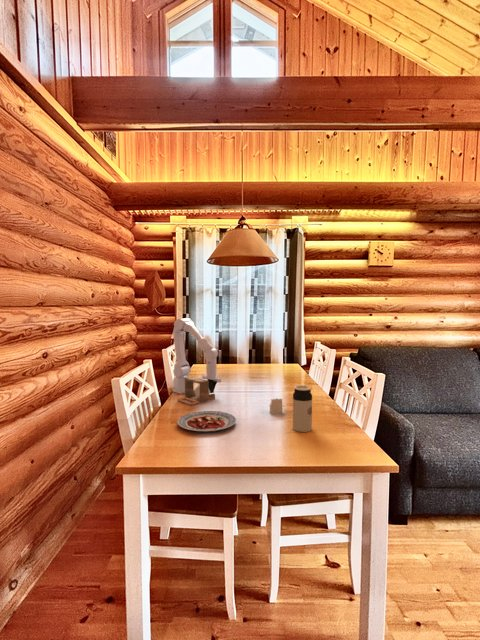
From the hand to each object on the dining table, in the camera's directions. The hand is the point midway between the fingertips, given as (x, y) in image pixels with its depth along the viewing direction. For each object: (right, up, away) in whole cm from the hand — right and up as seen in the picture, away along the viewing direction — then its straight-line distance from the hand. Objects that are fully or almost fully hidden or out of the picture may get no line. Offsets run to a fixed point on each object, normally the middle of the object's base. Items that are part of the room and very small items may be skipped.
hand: (211, 392), depth 203 cm
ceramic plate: (+2, -5, -47) cm, 47 cm away
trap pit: (-11, -2, -14) cm, 18 cm away
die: (-5, -2, -5) cm, 7 cm away
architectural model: (+34, -4, -31) cm, 46 cm away
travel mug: (+43, -5, -53) cm, 68 cm away
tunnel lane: (-6, -2, -6) cm, 8 cm away
